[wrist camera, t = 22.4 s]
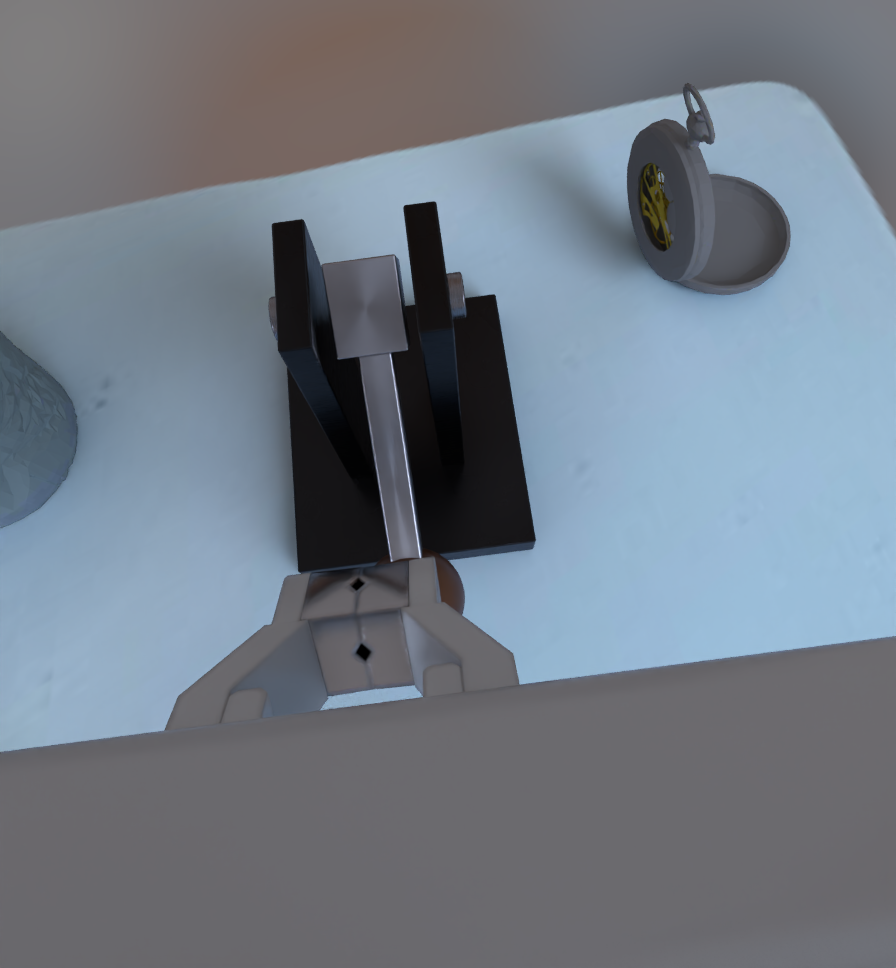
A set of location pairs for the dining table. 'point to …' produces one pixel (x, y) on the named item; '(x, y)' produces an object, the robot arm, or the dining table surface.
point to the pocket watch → (701, 211)
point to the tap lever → (384, 397)
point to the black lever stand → (426, 410)
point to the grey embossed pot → (31, 434)
